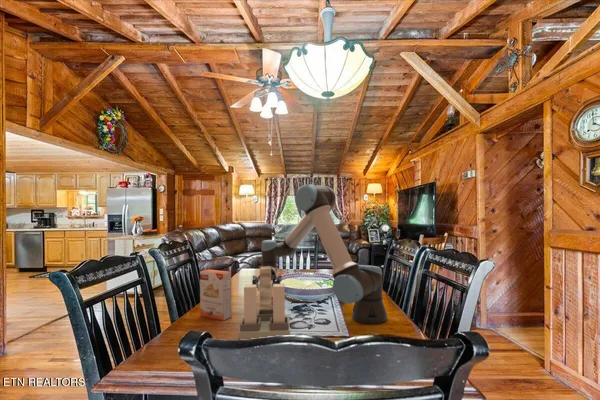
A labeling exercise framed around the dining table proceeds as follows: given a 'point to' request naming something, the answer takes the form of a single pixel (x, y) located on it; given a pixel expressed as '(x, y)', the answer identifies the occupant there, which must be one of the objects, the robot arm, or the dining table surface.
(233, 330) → the dining table surface
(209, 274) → the cracker box
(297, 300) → the trivet
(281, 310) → the stool seat
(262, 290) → the loose stool leg
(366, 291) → the robot arm
